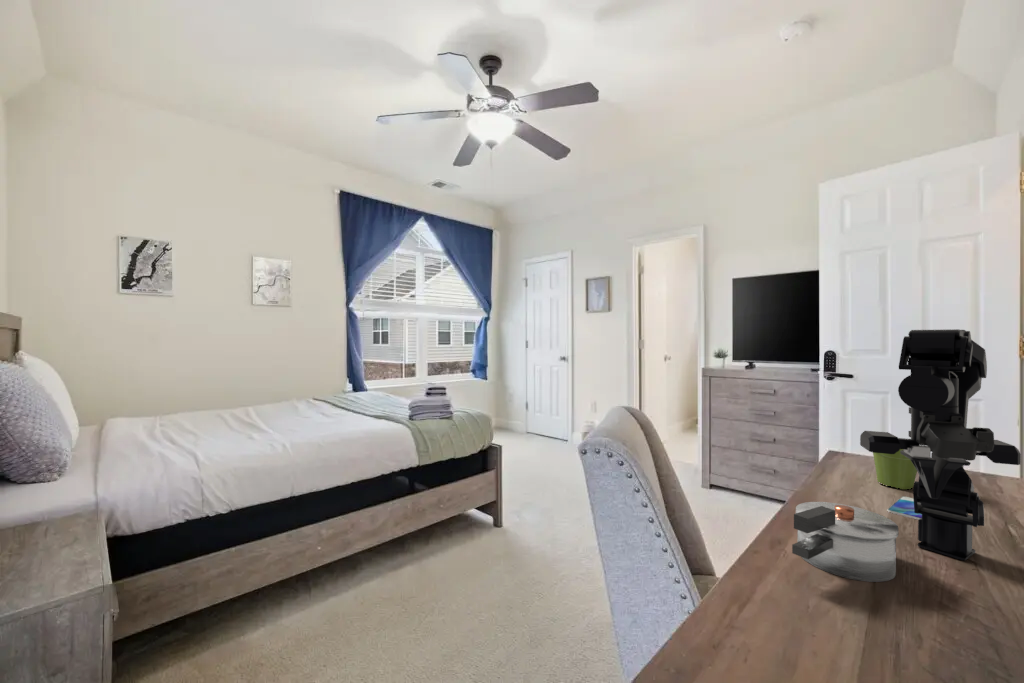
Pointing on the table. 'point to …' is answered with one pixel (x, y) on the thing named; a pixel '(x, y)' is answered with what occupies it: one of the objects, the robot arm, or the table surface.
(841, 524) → the cooker lid
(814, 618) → the table surface
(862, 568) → the pressure cooker pot
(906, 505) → the smartphone
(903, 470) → the plant pot
